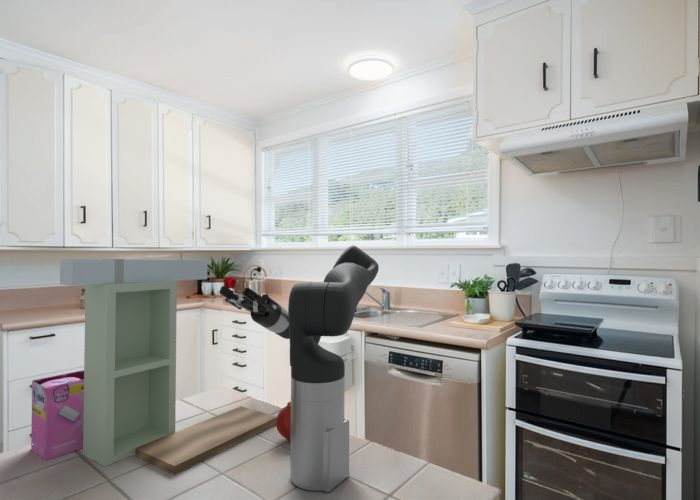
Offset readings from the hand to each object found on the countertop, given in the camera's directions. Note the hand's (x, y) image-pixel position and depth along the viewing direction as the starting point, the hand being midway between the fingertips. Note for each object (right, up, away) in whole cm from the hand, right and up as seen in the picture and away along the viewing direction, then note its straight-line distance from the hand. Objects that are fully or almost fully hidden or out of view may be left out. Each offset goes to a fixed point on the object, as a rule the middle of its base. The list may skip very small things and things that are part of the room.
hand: (232, 289), depth 103 cm
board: (+1, -29, -19) cm, 34 cm away
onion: (+17, -29, -20) cm, 39 cm away
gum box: (-23, -29, -17) cm, 41 cm away
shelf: (-14, -29, -22) cm, 39 cm away
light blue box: (-13, +4, -20) cm, 24 cm away
